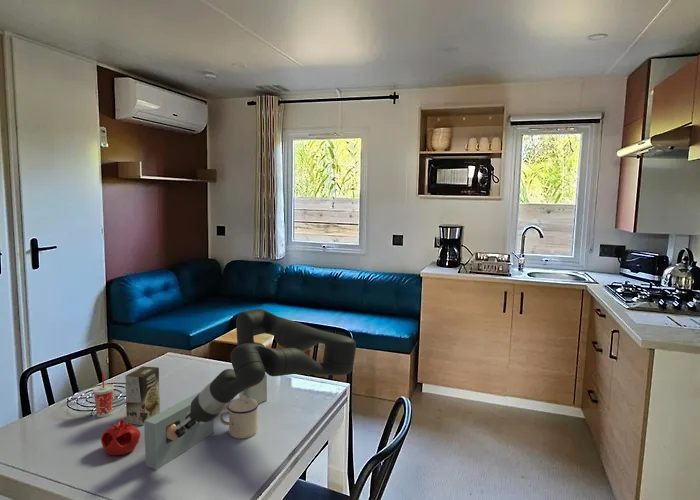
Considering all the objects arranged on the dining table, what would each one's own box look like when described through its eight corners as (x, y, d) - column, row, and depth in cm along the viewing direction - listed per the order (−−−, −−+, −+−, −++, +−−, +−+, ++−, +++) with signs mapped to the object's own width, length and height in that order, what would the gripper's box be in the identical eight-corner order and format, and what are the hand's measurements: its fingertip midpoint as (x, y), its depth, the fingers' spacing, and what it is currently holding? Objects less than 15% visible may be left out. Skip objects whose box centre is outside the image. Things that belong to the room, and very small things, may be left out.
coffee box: (143, 425, 144) (142, 377, 142) (125, 423, 145) (124, 375, 143) (161, 412, 153) (159, 367, 151) (144, 410, 154) (142, 365, 152)
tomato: (114, 440, 135) (112, 411, 134) (146, 441, 135) (145, 411, 134) (94, 459, 125) (92, 426, 125) (129, 459, 125) (128, 427, 124)
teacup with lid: (260, 424, 146) (260, 390, 145) (255, 439, 137) (255, 402, 136) (223, 424, 146) (222, 390, 144) (215, 439, 137) (215, 402, 135)
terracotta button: (153, 437, 126) (152, 423, 126) (164, 430, 130) (164, 417, 129) (171, 443, 123) (171, 429, 123) (182, 436, 127) (182, 422, 126)
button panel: (145, 466, 123) (144, 420, 121) (203, 429, 142) (203, 390, 141) (156, 470, 121) (154, 424, 119) (213, 432, 141) (213, 392, 139)
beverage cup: (90, 415, 150) (88, 375, 148) (107, 408, 155) (105, 369, 154) (101, 420, 147) (99, 378, 146) (118, 412, 152) (117, 372, 151)
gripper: (201, 423, 111) (166, 457, 118) (236, 402, 123) (203, 434, 130) (185, 398, 113) (151, 433, 119) (221, 379, 125) (188, 412, 131)
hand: (178, 433), depth 124 cm, fingers closed
